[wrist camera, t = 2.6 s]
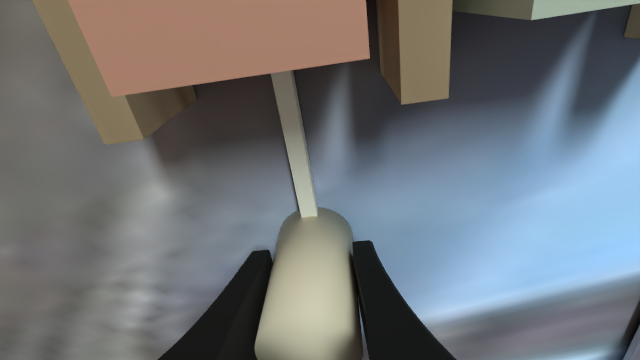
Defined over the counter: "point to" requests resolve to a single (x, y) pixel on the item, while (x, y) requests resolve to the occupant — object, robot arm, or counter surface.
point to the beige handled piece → (280, 60)
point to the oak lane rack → (162, 105)
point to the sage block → (534, 7)
